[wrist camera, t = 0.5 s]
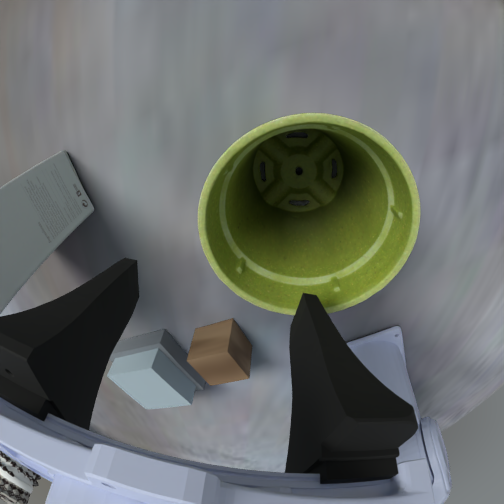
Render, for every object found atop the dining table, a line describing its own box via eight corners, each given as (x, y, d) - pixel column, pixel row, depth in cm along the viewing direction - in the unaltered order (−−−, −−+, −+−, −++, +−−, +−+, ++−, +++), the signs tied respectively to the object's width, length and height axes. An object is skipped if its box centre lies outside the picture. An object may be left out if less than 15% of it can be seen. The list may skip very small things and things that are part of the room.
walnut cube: (252, 345, 29) (249, 378, 25) (216, 353, 30) (210, 385, 26) (232, 317, 27) (227, 351, 23) (195, 328, 28) (186, 360, 24)
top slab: (196, 385, 30) (191, 404, 28) (151, 392, 32) (146, 409, 30) (158, 347, 27) (151, 368, 25) (115, 358, 29) (106, 375, 27)
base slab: (207, 371, 32) (204, 389, 30) (154, 380, 34) (149, 396, 32) (166, 324, 29) (159, 343, 27) (113, 339, 31) (105, 355, 29)
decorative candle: (25, 389, 44) (-18, 483, 22) (33, 379, 40) (-17, 489, 19) (60, 414, 47) (24, 509, 26) (73, 408, 43) (32, 518, 22)
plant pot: (365, 229, 21) (403, 308, 14) (237, 237, 22) (219, 321, 15) (365, 99, 17) (427, 115, 9) (217, 108, 18) (176, 129, 10)
